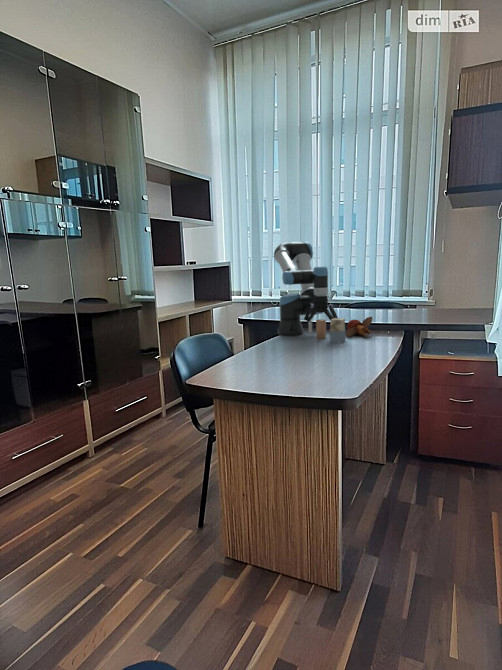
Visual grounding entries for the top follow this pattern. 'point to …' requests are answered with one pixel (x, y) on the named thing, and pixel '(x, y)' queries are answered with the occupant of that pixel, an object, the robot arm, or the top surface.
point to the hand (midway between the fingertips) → (321, 333)
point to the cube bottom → (337, 336)
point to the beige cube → (337, 324)
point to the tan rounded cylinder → (321, 329)
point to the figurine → (358, 327)
